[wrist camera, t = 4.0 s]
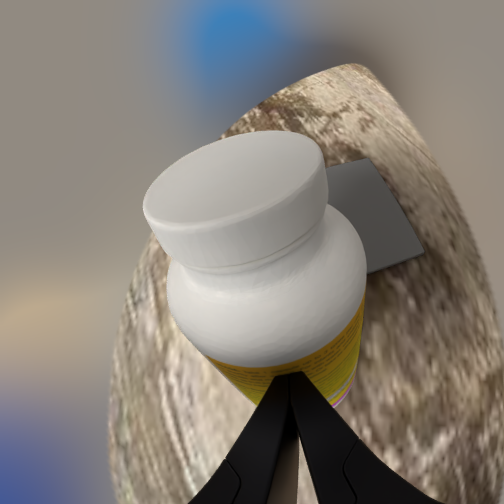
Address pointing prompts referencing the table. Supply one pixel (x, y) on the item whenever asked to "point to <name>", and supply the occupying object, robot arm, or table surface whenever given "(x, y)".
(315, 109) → the table surface
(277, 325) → the supplement bottle
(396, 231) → the mat
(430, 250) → the table surface
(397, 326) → the table surface
